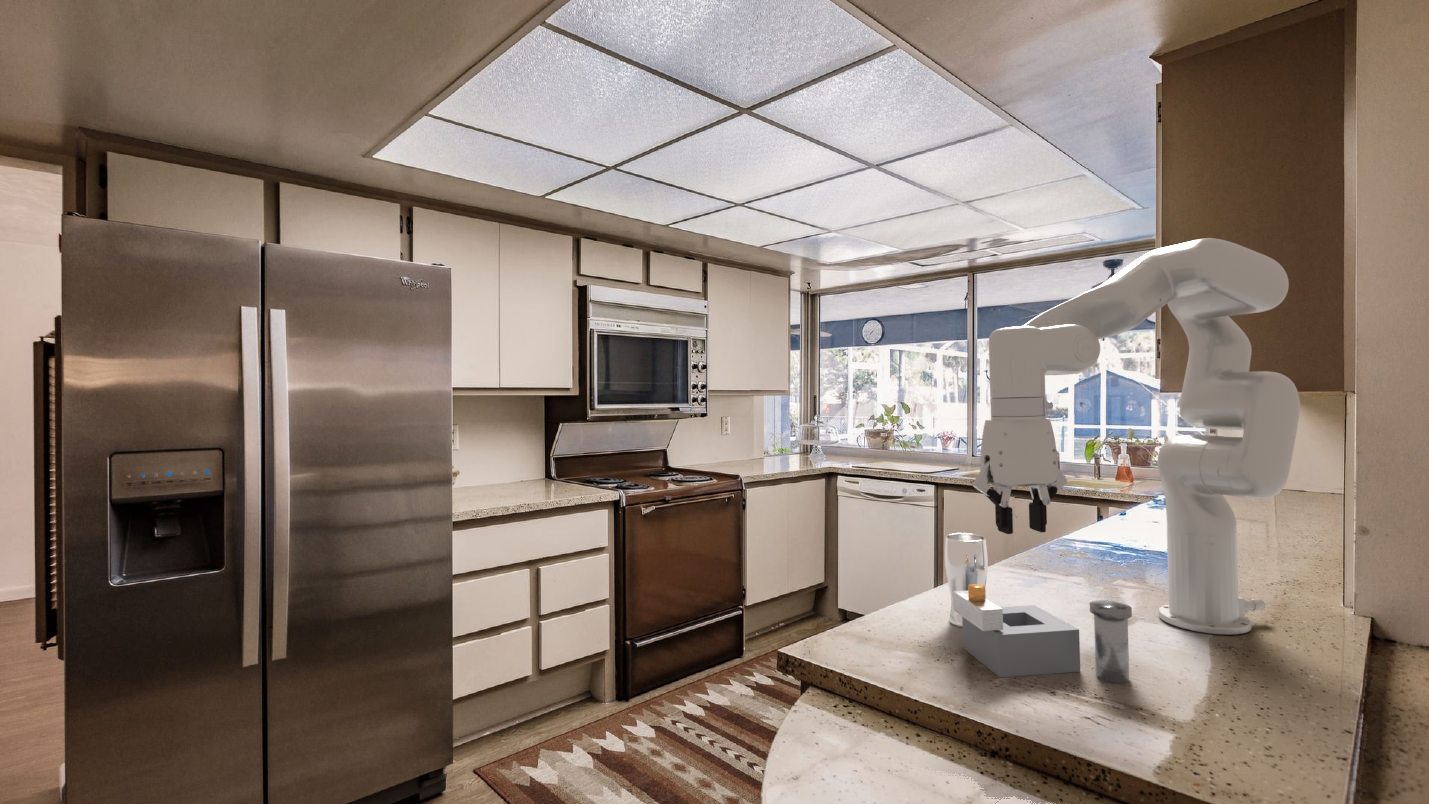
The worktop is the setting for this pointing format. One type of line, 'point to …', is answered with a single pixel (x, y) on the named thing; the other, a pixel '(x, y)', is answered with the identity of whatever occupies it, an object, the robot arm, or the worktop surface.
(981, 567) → the beer glass
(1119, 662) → the grey capped cylinder
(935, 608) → the worktop surface
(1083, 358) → the robot arm
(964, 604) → the bar
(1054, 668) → the block
